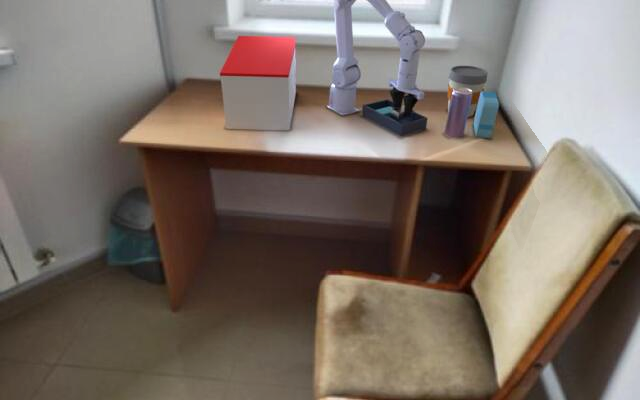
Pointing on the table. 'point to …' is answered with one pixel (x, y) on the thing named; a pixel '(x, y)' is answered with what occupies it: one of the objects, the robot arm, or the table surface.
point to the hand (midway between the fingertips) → (402, 113)
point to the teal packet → (385, 111)
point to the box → (391, 124)
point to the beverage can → (458, 112)
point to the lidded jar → (467, 83)
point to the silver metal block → (400, 113)
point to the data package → (486, 114)
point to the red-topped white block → (259, 83)
